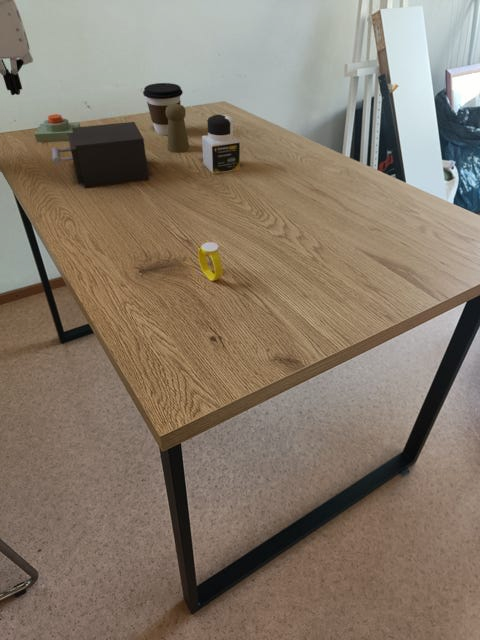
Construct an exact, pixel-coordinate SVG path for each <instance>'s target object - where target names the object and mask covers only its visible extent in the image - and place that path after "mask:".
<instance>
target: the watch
mask: <svg viewBox="0 0 480 640" xmlns="http://www.w3.org/2000/svg"><path fill="white" fill-rule="evenodd" d="M197 251H198V252H197V257H198V263H199V266H200V269H201V271H202V273H203V274H204V275H205V276H206V277H207V278H208V280H209V281H210V282H214V281H218V280H220V279H221V278H222V276H223V263H222V259H221V257H220V254H219V245H218V243H216V242H212V241H207V242H205V243H203V244H202V245H201V246H200V247H199V249H198V250H197ZM207 255H208V256H209V257H210V259H211V261H212V264H213V268H214V270H213V271H212V269H211V268H210V265H209V263H208V259H207Z"/></svg>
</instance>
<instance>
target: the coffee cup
mask: <svg viewBox="0 0 480 640" xmlns="http://www.w3.org/2000/svg"><path fill="white" fill-rule="evenodd" d="M142 93H143V96H144V97H146V103H147V109H148V111H149V115H150V119H151V122H152V125H153V127H154V130H155V132H156V134H157V135H160V136H168V118H167V117H166V113H165V111H166V107H167V106H168V105H171V104H180V105H181V96H182V95H183V93H184V92H183V90H182V87H181V86H180V85H179V84H176V83H171V82H159V83H158V82H157V83H151V84H148V85H146V86H145V87H144V88H143V91H142Z"/></svg>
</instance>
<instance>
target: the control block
mask: <svg viewBox="0 0 480 640" xmlns="http://www.w3.org/2000/svg"><path fill="white" fill-rule="evenodd" d="M62 121H63V122H62V123H58V124H50V123H49V120H48V119H45V120H44V121H43V123H40V124H39V126H37V128H36V130H35V132H34V138H35V141H36V143H43V142H44V143H45V142H67V141H68V142H69V137H68V133H73V130H72V128H75V127H81V125H80V121H79V122H78V121H76V122H69V119H67V118H64V117H62Z"/></svg>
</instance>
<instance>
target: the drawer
mask: <svg viewBox="0 0 480 640" xmlns="http://www.w3.org/2000/svg"><path fill="white" fill-rule="evenodd" d="M68 137H69V141H68V143H69V147H68V148H67V147H66V148H58V147H56V146H54V147H52V149H51V154H52V156H51V157H52V162H53V165H56V166H58V165H61V163H62V162H72V161H73V166H74V170H75V174H76V178H77V182H78V185H83V184H84V180H83V176H82V171H81V167H80V162H79V158H78V154H77V149H76V145H75V140H74V135H73V133H68ZM66 152H71V153H70V154H71V156H70V157H69V156H68V157H61V153H66Z"/></svg>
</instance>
